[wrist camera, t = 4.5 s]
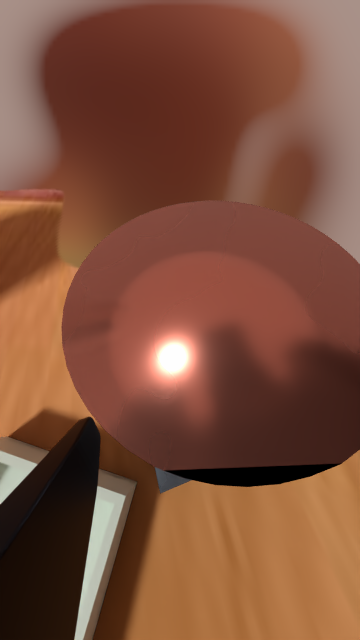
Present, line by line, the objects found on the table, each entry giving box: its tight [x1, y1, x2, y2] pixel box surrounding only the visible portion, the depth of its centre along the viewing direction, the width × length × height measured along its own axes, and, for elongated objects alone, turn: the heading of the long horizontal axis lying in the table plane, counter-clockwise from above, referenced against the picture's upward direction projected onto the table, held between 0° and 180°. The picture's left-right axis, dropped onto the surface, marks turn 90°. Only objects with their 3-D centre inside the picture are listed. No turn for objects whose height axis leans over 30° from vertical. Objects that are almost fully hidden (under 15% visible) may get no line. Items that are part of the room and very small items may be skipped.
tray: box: [0, 437, 137, 640], centre depth 10 cm, size 11×11×3 cm
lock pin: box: [62, 201, 360, 487], centre depth 9 cm, size 5×5×14 cm
